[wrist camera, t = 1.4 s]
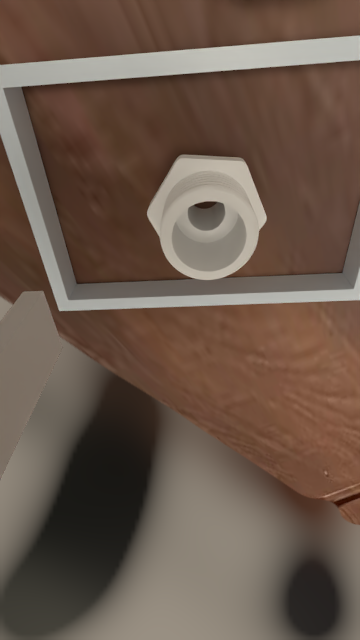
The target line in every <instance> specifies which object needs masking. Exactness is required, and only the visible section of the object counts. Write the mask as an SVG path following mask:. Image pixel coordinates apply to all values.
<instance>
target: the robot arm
mask: <svg viewBox="0 0 360 640" xmlns="http://www.w3.org/2000/svg"><path fill="white" fill-rule="evenodd" d="M62 348H63V346H62V344H61V341H60V338H59V335H58V332H57V329H56V326H55V323H54V320H53V318H52V315H51V312H50V309H49V306H48V303H47V300H46V297H45V295H44V292H43V291H29V292H23V293H22V294H21V295H20V297H19V298H18V299H17V301H16V302H15V303H14V304H13V306H12V307H11V308H10V310H9V311H8V312H7V314H6V315H5V316H4V318H3V319H2V320H1V322H0V479H1V477H2V475H3V473H4V471H5V469H6V466H7V464H8V462H9V460H10V458H11V456H12V454H13V451H14V449H15V447H16V445H17V443H18V441H19V439H20V437H21V434H22V433H23V430H24V428H25V426H26V424H27V422H28V420H29V418H30V416H31V414H32V412H33V409H34V407H35V405H36V403H37V401H38V399H39V397H40V395H41V393H42V390H43V388H44V386H45V384H46V382H47V380H48V378H49V376H50V373H51V371H52V369H53V367H54V365H55V363H56V361H57V359H58V357H59V355H60V352H61V350H62Z"/></svg>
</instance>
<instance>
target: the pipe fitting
mask: <svg viewBox="0 0 360 640" xmlns="http://www.w3.org/2000/svg"><path fill="white" fill-rule="evenodd" d="M205 201H216V202H217V203H216V204H215V205H214V206H212V207H210V208H207V209H201V208H198V207H196V206H194V205H195V204H197V203H200V202H205ZM147 216H148V218H149V220H150V222H151V223H152V225H153V227H154V229H155V230H156V232H157V234H158V235H159V237H160V242H161V246H162V250H163V252H164V254H165V256H166V258H167V260H168V261H169V262H170V264H171V265H172V266H173V267H174V268H175V269H177V270H178V271H179V272H181V273H182V274H184V275H186V276H189V277H191V278H195V279H200V280H214V279H219V278H223V277H225V276H227V275H230V274H232V273H234V272H235V271H237V270H239V269H240V268H241V267H242V266H243V265H244V264H245V263H246V262H247V261H248V260H249V259H250V257H251V256H252V254H253V252H254V250H255V248H256V245H257V242H258V237H259V230H260V229H261V228H262V226H263V225H264V224H265V222H266V219H267V217H266V214H265V211H264V208H263V206H262V203H261V201H260V198H259V195H258V193H257V190H256V187H255V185H254V182H253V179H252V177H251V174H250V172H249V169H248V166H247V165H246V163H245V161H244V160H243V159H242V158H239V157H222V156H203V155H180V156H178V157H177V159H176V160H175V162H174V163H173V165H172V167H171V169H170V170H169V172H168V174H167V175H166V177H165V179H164V181H163V182H162V184H161V186H160V187H159V189H158V191H157V193H156V194H155V196H154V198H153V199H152V201H151V203H150V205H149V208H148V211H147Z"/></svg>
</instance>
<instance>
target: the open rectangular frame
mask: <svg viewBox="0 0 360 640" xmlns="http://www.w3.org/2000/svg"><path fill="white" fill-rule="evenodd" d="M355 60H360V36H348V37H336V38H323V39H311V40H299V41H287V42H275V43H263V44H251V45H238V46H226V47H214V48H202V49H190V50H178V51H166V52H153V53H141V54H129V55H117V56H105V57H93V58H81V59H68V60H56V61H44V62H32V63H20V64H8V65H0V135H1V138H2V141H3V144H4V147H5V150H6V153H7V156H8V159H9V162H10V165H11V168H12V171H13V174H14V177H15V180H16V183H17V186H18V189H19V192H20V195H21V198H22V201H23V204H24V207H25V210H26V213H27V216H28V219H29V222H30V225H31V228H32V231H33V234H34V237H35V240H36V243H37V246H38V249H39V252H40V255H41V258H42V261H43V264H44V267H45V270H46V273H47V276H48V279H49V282H50V285H51V288H52V291H53V294H54V297H55V300H56V303H57V306H58V309H59V311H75V310H102V309H129V308H156V307H183V306H210V305H237V304H264V303H291V302H319V301H346V300H360V203H359V207H358V211H357V215H356V219H355V223H354V227H353V231H352V235H351V239H350V243H349V248H348V252H347V256H346V260H345V264H344V268H343V272H342V273H330V274H306V275H282V276H258V277H234V278H219V279H214V280H200V279H186V280H162V281H138V282H114V283H90V284H77V283H76V280H75V276H74V273H73V269H72V266H71V262H70V259H69V255H68V251H67V248H66V244H65V241H64V237H63V234H62V230H61V226H60V223H59V219H58V216H57V212H56V209H55V205H54V202H53V198H52V194H51V191H50V187H49V184H48V180H47V177H46V173H45V170H44V166H43V162H42V159H41V155H40V152H39V148H38V145H37V141H36V137H35V134H34V130H33V127H32V123H31V120H30V116H29V113H28V109H27V105H26V102H25V98H24V95H23V91H22V88H21V87H22V86H35V85H48V84H60V83H73V82H86V81H99V80H112V79H124V78H137V77H150V76H163V75H176V74H188V73H201V72H214V71H227V70H240V69H252V68H265V67H278V66H291V65H304V64H316V63H329V62H342V61H355Z"/></svg>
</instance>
